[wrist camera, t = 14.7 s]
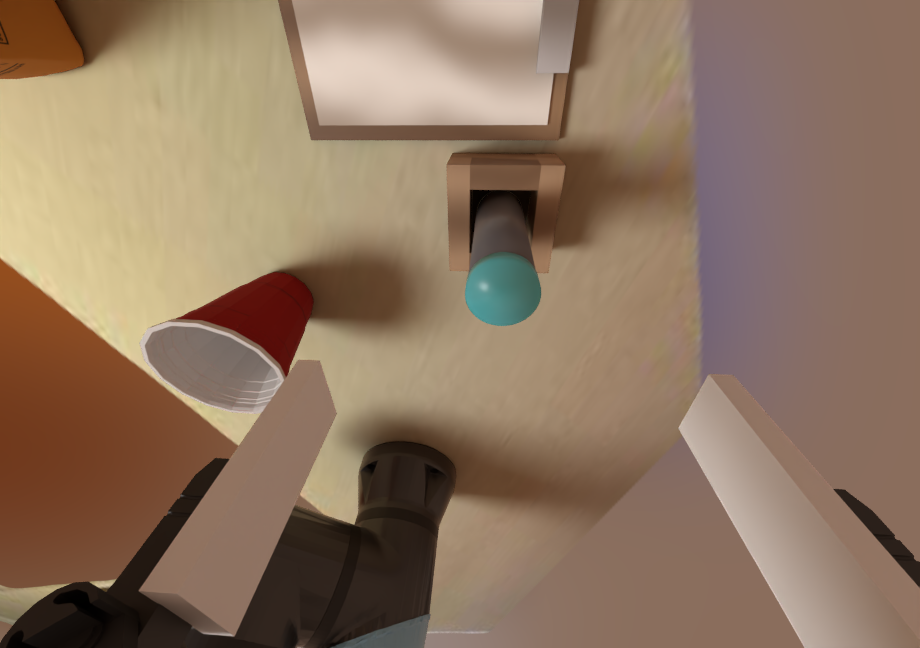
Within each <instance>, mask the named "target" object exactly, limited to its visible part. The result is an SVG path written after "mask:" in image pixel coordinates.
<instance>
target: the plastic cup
mask: <svg viewBox="0 0 920 648" xmlns="http://www.w3.org/2000/svg"><path fill="white" fill-rule="evenodd" d="M313 302H314V301H313V298H312V294H311V292H310V291H309V289H308V288H307V287H306V285H305V284H304V283H303V282H301V281H300V280H299V279H297V278H296V277H294V276H291V275H289V274H286V273H278V272H273V273H271V274H267V275H264V276H261V277H259V278H257V279H255V280H254V281H252V282H250V283H248V284H245V285H242V286H240V287H238V288H236V289H234V290H232V291H230V292H229V293H227V294H225V295H223V296H221V297H219V298H217V299H215V300H214V301H212V302H210V303H208V304H206V305H204V306H202V307H200V308H198V309H196V310H193V311H191V312H189V313H187V314H185V315H184V316H181V317H178V318H176V319H172V320H169V321H166V322H163V323H160V324H158V325H155V326H152V327H150V328H148V329H147V330H146V332H145V334H144V336H143V337H142V339H141V341H140V347H141V350H142V354H143V357H144V361H145V362H146V363H147V364H148V365H149V366H150V368H151V369H152V370H153V371H154V372H155V373H156V375H157V376H158V377H159V378H160V379H161V380H163V381H164V382H166V383H167V384H168V385H170V386H171V387H173V388H174V389H176V390H177V391H178V392H180V393H181V394H183V395H185V396H187V397H190V398H192V399H194V400H196V401H198V402H201V403H203V404H205V405H207V406H211V407H215V408H218V409H222V410H226V411H230V412H236V413H252V414H257V413H261V412H263V410H264V409H265V407H266V406H267V404H268V403H269V402H270V400H271V399H272V397H273V396H274V394H275V393H276V391H277V390H278V389H279V387H280V386H281V384H282V383H283V381H284V380H285V378H286V377H287V375H288V373H289V369H290V365H291V363H292V360H293V358H294V355H295V353H296V351H297V348H298V346H299V343H300V341H301V338H302V336H303V334H304V331H305V326H306V324H307V322H308V320H309V318H310V315H311V312H312V308H313Z"/></svg>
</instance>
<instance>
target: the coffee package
mask: <svg viewBox="0 0 920 648" xmlns="http://www.w3.org/2000/svg"><path fill="white" fill-rule="evenodd" d="M83 63H84V56H83V52H82V49H81V47H80V45H79V44H78V42H77V40H76V39H75V37H74V36H73V34H72V32H71V30H70V28H69V26H68V24H67V23H66V21H65V19H64V17H63V15H62V13H61V11H60V10H59V8H58V6H57V4H56V2H55V1H54V0H0V79H20V78H28V77H37V76H45V75H49V74H53V73H59V72H64V71H68V70H71V69H74V68H77V67H79V66H82V65H83Z"/></svg>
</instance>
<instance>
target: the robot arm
mask: <svg viewBox="0 0 920 648" xmlns="http://www.w3.org/2000/svg"><path fill="white" fill-rule="evenodd" d="M336 414H337V413H336V410H335V407H334V403H333V400H332V397H331V394H330V391H329V388H328V385H327V382H326V379H325V376H324V373H323V370H322V366H321V363H320V361H316V360H298V361H297V363H296V364H295V365H294V367H293V368H292V370H291V371H290V373H289V374H288V376H287V377H286V378H285V380H284V381H283V383H282V384H281V386H280V387H279V389H278V390H277V391H276V393H275V394H274V396H273V397H272V399H271V400H270V402H269V403H268V404H267V406H266V407H265V409H264V410H263V412H262V413H261V415H260V416H259V417H258V419H257V420H256V422H255V423H254V425H253V426H252V428H251V429H250V431H249V432H248V433H247V435H246V436H245V438H244V439H243V441H242V442H241V444H240V445H239V446H238V448H237V449H236V451H235V452H234V454H233V455H232V457H231V458H230V459H221V458H215V459H214V460H213V461H212V462H210V463H209V464H208V465H207V466H205V467H204V468H203V469H202V470H201V471H200V472H198V473H197V474H196V475H195V476H194V478H193V479H192V480H191V482H190V483H189V484H188V486H187V487H186V488H185V490H184V491H183V492H182V494H181V497H180V498H179V499H177V500H176V502H175V503H174V504H173V505H172V507H171V509H170V510H169V511H168V514H167V516H164V518H163V519H162V520H161V521H160V523H159V524H158V525H157V527H156V528H155V530H154V531H153V532H152V533H151V535H150V536H149V537H148V539H147V540H146V541H145V543H144V544H143V546H142V547H141V548H140V550H139V551H138V552H137V553H136V555H135V556H134V557H133V559H132V560H131V561H130V563H129V564H128V565H127V567H126V568H125V569H124V571H123V572H122V574H121V575H120V576H119V577H118V579H117V580H116V581H115V582H114V584H113V585H112V586H111V587H110V588H109V589H108V591H107V592H105V591H103V590H101V589H100V588H98V587H96V586H95V585H93V584H91V583H90V582H76V583H72V584H69V585H67V586H64V587H62V588H59V589H57V590H55V591H54V592H52V593H50V594H49V595H47V596H46V597H44V598H43V599H41V600H40V601H38V602H37V603H36V604H34V605H33V606H32V607H31V608H30V609H29V610H28V611H27V612H26V613H24V614H23V615H22V616H21V617H20V618H19V619H18V620H17V621H16V622H15V624H14V625H13V626H12V627H11V629H10V630H9V631H8V632H7V634H6V635H5V636H4V637H3V639H2V641H1V643H0V648H297V647H301V648H424V644H425V639H426V633H427V628H428V622H429V620H430V614H429V612H430V603H431V594H432V585H433V576H434V566H435V557H436V548H437V538H438V530H439V525H440V522H441V520H442V518H443V515H444V513H445V511H446V508H447V506H448V504H449V501H450V499H451V497H452V494H453V492H454V488H455V479H456V471H455V468H454V466H453V464H452V463H451V461H450V460H449V459H448V458H447V457H445V456H444V455H443V454H441V453H440V452H438V451H436V450H434V449H432V448H429V447H426V446H423V445H419V444H415V443H408V442H391V443H385V444H381V445H378V446H376V447H374V448H372V449H370V450H369V451H368V452H367V453H366V454H365V455H364V457H363V460H362V463H361V466H360V469H359V475H358V515H357V518H356V522H355V525H353V524H350V523H347V522H344V521H341V520H338V519H335V518H332V517H329V516H326V515H323V514H320V513H317V512H315V511H312V510H309V509H306V508H303V507H300V506H297V505H295V503H296V501H297V499H298V497H299V495H300V492H301V490H302V488H303V486H304V484H305V482H306V479H307V477H308V475H309V473H310V471H311V468H312V466H313V464H314V462H315V460H316V458H317V455H318V453H319V451H320V449H321V447H322V444H323V442H324V440H325V438H326V436H327V434H328V431H329V429H330V427H331V425H332V423H333V420H334V418H335V416H336ZM679 430H680V432H681V434H682V435H683V437H684V439H685V440H686V442H687V444H688V446H689V447H690V449H691V451H692V453H693V454H694V456H695V458H696V460H697V461H698V463H699V465H700V467H701V468H702V470H703V472H704V474H705V475H706V477H707V479H708V480H709V482H710V484H711V486H712V487H713V489H714V491H715V493H716V494H717V496H718V498H719V499H720V501H721V503H722V505H723V506H724V508H725V510H726V512H727V513H728V515H729V517H730V519H731V520H732V522H733V524H734V526H735V527H736V529H737V531H738V532H739V534H740V536H741V538H742V539H743V541H744V543H745V545H746V547H747V548H748V550H749V552H750V553H751V555H752V557H753V559H754V560H755V562H756V564H757V566H758V567H759V569H760V571H761V573H762V574H763V576H764V578H765V580H766V581H767V583H768V585H769V587H770V588H771V590H772V592H773V593H774V595H775V597H776V599H777V600H778V602H779V604H780V606H781V607H782V609H783V611H784V613H785V614H786V616H787V618H788V620H789V621H790V623H791V624H792V626H793V628H794V630H795V632H796V633H797V635H798V637H799V639H800V640H801V642H802V644H803V646H804V647H805V648H920V562H918V561H916V560H915V559H914V555H913V554H912V553H911V552H910V551H909V550H908V549H907V548H906V547H905V546H904V545H903V544H902V542H901V541H900V540H896V539H895V537H894V536H895V535H894V534H893V533H892V532H891V531H890V530H889V528H887V526H886V525H885V524H884V523H883V522H882V521H881V520H880V519H879V518H878V516H876V514H875V513H874V512H873V511H872V510H871V509H869V508H868V507H867V506H865V505H864V504H863V503H861V502H860V501H859V500H857V499H856V498H855V497H853V496H852V495H851V494H849V493H848V492H847V491H846V490H842V489H832V487H831V486H830V485H829V484H828V483H827V482H826V481H825V480H824V478H823V477H822V476H821V475H820V474H819V473H818V471H817V470H816V469H815V468H814V467H813V466H812V464H810V462H809V461H808V460H807V459H806V458H805V457H804V455H803V454H802V453H801V452H800V451H799V450H798V448H797V447H796V446H795V445H794V444H793V443H792V442H791V441H790V439H789V438H788V437H787V436H786V435H785V434H784V433H783V432H782V430H781V429H780V428H779V427H778V426H777V425H776V423H775V422H774V421H773V420H772V419H771V418H770V417H769V415H768V414H767V413H766V412H765V411H764V410H763V409H762V407H761V406H760V405H759V404H758V403H757V402H756V401H755V399H753V397H752V396H751V395H750V394H749V393H748V391H747V390H746V389H745V388H744V387H743V386H742V385H741V384H740V382H739V381H738V380H737V379H736V378H735V377H734V376H733V375H719V374H709V375H708V377H707V378H706V380H705V382H704V384H703V385H702V387H701V389H700V391H699V393H698V394H697V396H696V398H695V400H694V401H693V403H692V405H691V407H690V408H689V410H688V412H687V414H686V416H685V417H684V419H683V421H682V423H681V424H680V426H679Z"/></svg>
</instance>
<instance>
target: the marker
mask: <svg viewBox="0 0 920 648" xmlns="http://www.w3.org/2000/svg"><path fill="white" fill-rule="evenodd" d="M465 298H466V303H467V305H468V307H469V309H470V311H471V312H472V313H473V314H474V315H475V316H476V317H477V318H478V319H480V320H482V321H483V322H486V323H488V324H492V325H497V326H507V325H513V324H516V323H519V322H521V321H523V320H525V319H526V318H528V317H529V316H530V315H531V314H532V313H533V312H534V311H535V310H536V308H537V306H538V304H539V302H540V298H541V287H540V282H539V278H538V274H537V272H536V269H535V264H534V260H533V255H532V251H531V246H530V242H529V237H528V232H527V228H526V223H525V219H524V214H523V210H522V205H521V203H520V201H519V199H518V198H517V197H516V196H515V195H514V194H513V193H511V192H509V191H506V190H495V191H492V192H490V193H488V194H487V195H485V196H484V197H483V198H482V199H481V201H480V203H479V205H478V208H477V213H476V221H475V229H474V237H473V244H472V252H471V260H470V267H469V274H468V277H467V283H466V290H465Z"/></svg>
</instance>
